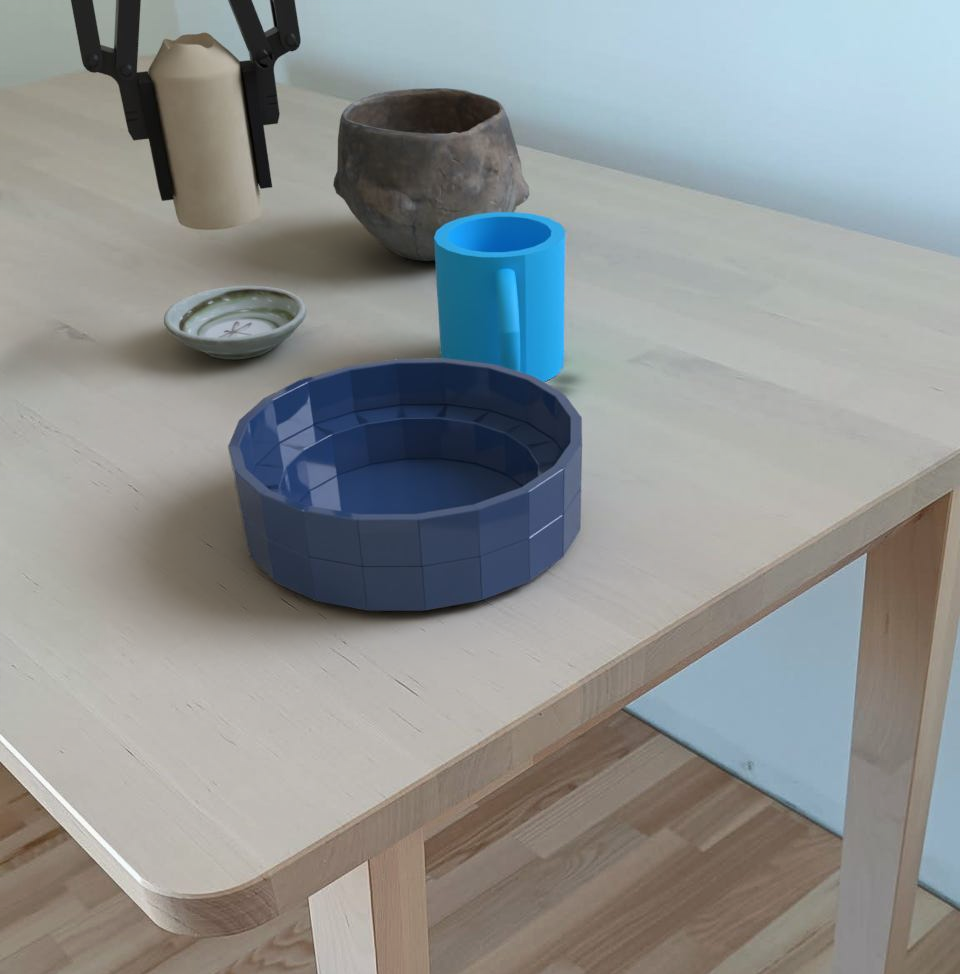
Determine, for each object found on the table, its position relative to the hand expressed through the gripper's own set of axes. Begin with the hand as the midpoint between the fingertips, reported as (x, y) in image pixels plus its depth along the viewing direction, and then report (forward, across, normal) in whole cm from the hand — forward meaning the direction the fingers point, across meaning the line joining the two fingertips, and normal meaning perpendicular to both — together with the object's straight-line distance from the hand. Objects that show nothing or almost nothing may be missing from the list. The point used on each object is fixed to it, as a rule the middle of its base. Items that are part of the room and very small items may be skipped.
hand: (214, 187), depth 81 cm
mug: (+10, +16, -11) cm, 22 cm away
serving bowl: (+10, +6, -28) cm, 30 cm away
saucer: (+10, 0, 0) cm, 10 cm away
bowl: (+10, +17, +14) cm, 24 cm away
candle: (+2, 0, 0) cm, 2 cm away
